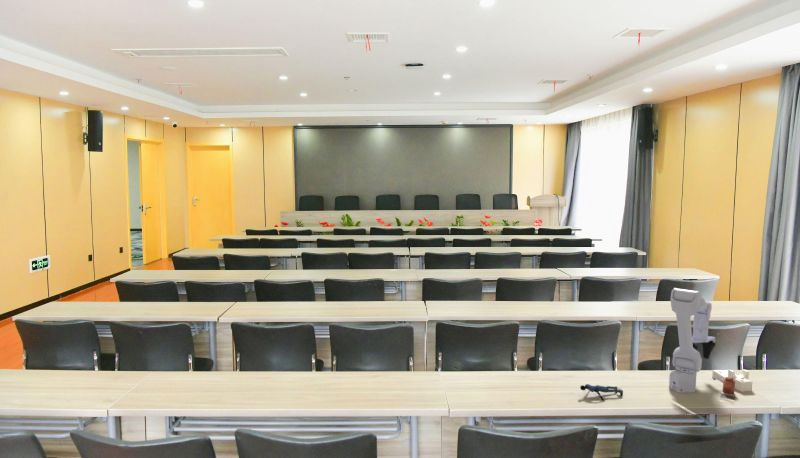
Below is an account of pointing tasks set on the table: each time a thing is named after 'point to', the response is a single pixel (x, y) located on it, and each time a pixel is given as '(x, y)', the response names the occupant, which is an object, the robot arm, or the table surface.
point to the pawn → (728, 385)
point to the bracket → (728, 374)
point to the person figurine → (602, 389)
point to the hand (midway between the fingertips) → (698, 359)
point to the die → (743, 384)
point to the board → (727, 398)
